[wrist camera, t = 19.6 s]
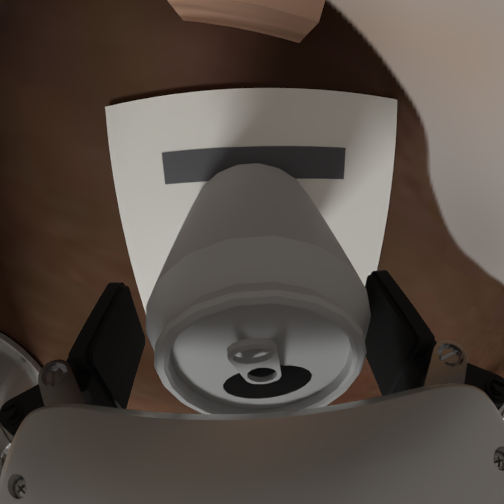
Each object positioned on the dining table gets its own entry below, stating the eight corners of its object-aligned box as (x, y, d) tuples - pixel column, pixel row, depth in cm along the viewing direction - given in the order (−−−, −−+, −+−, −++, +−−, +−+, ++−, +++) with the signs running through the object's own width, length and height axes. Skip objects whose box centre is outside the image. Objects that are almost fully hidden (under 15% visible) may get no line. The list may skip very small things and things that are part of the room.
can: (212, 279, 20) (190, 440, 10) (177, 177, 17) (80, 303, 6) (318, 256, 19) (377, 411, 9) (300, 148, 16) (399, 238, 5)
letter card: (366, 304, 22) (367, 308, 22) (147, 312, 22) (146, 316, 22) (394, 99, 15) (397, 99, 14) (107, 106, 15) (105, 106, 14)
